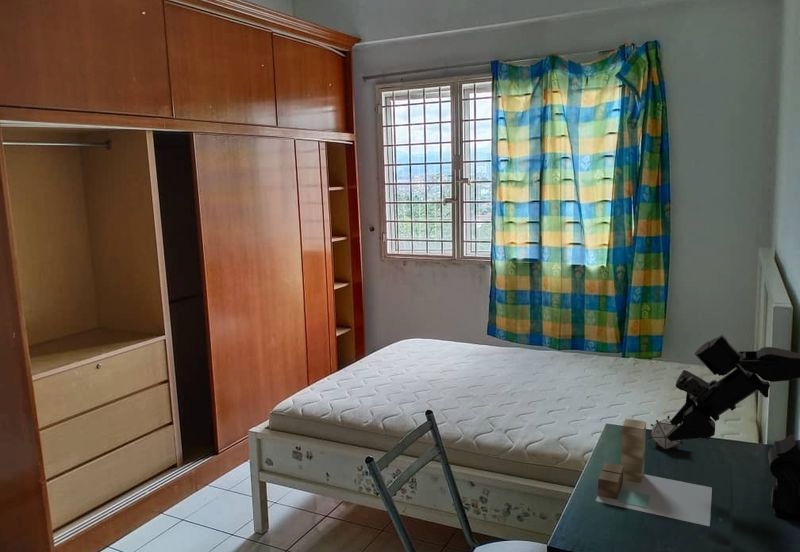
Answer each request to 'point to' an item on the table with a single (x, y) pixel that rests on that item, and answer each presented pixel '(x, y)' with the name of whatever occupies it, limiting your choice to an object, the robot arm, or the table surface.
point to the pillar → (633, 450)
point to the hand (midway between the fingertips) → (669, 431)
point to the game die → (664, 434)
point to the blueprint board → (665, 499)
